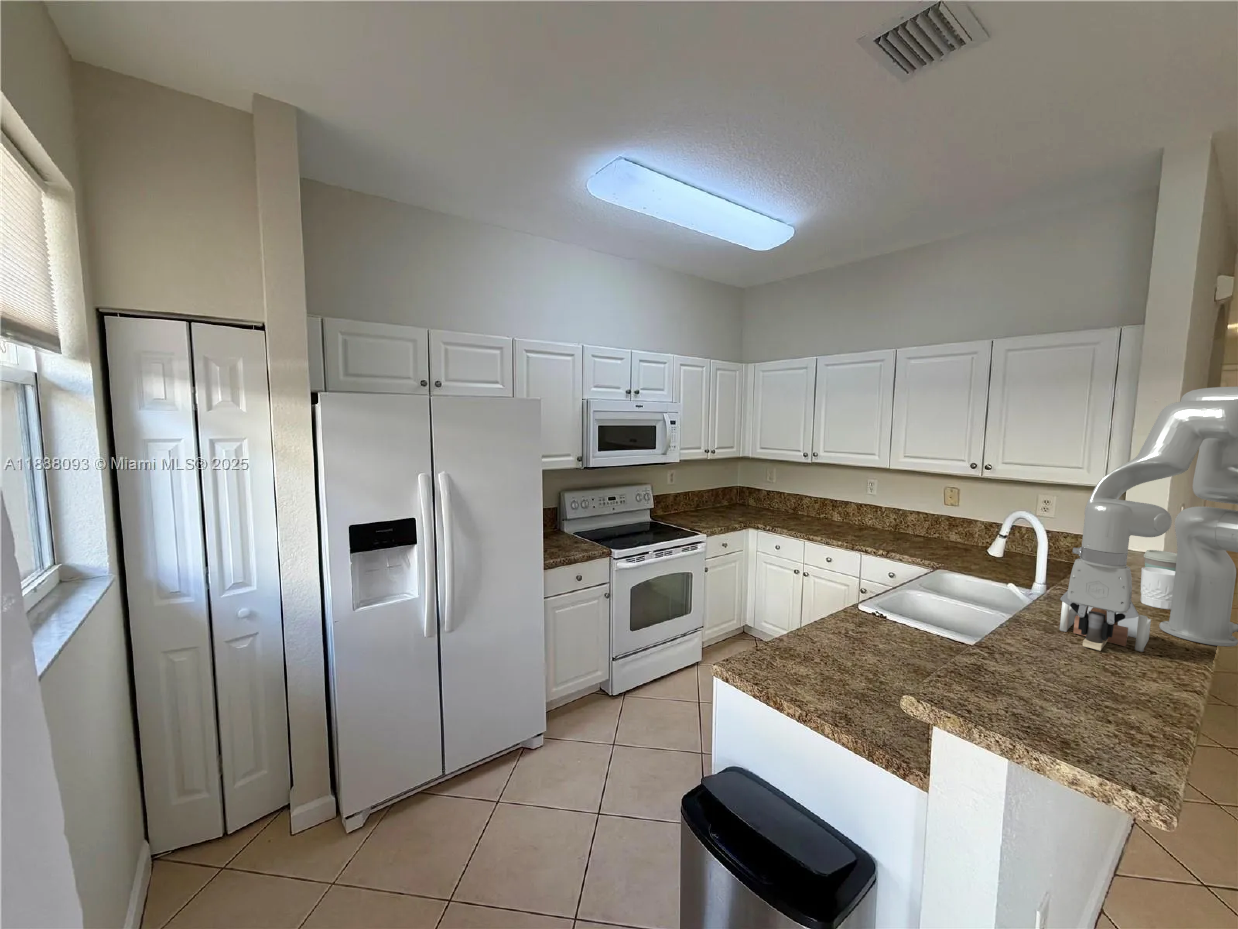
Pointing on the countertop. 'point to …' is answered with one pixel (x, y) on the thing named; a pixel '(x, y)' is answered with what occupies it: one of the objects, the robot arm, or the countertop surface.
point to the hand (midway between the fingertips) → (1094, 635)
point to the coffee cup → (1160, 559)
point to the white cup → (1157, 587)
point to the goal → (1135, 626)
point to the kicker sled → (1100, 632)
